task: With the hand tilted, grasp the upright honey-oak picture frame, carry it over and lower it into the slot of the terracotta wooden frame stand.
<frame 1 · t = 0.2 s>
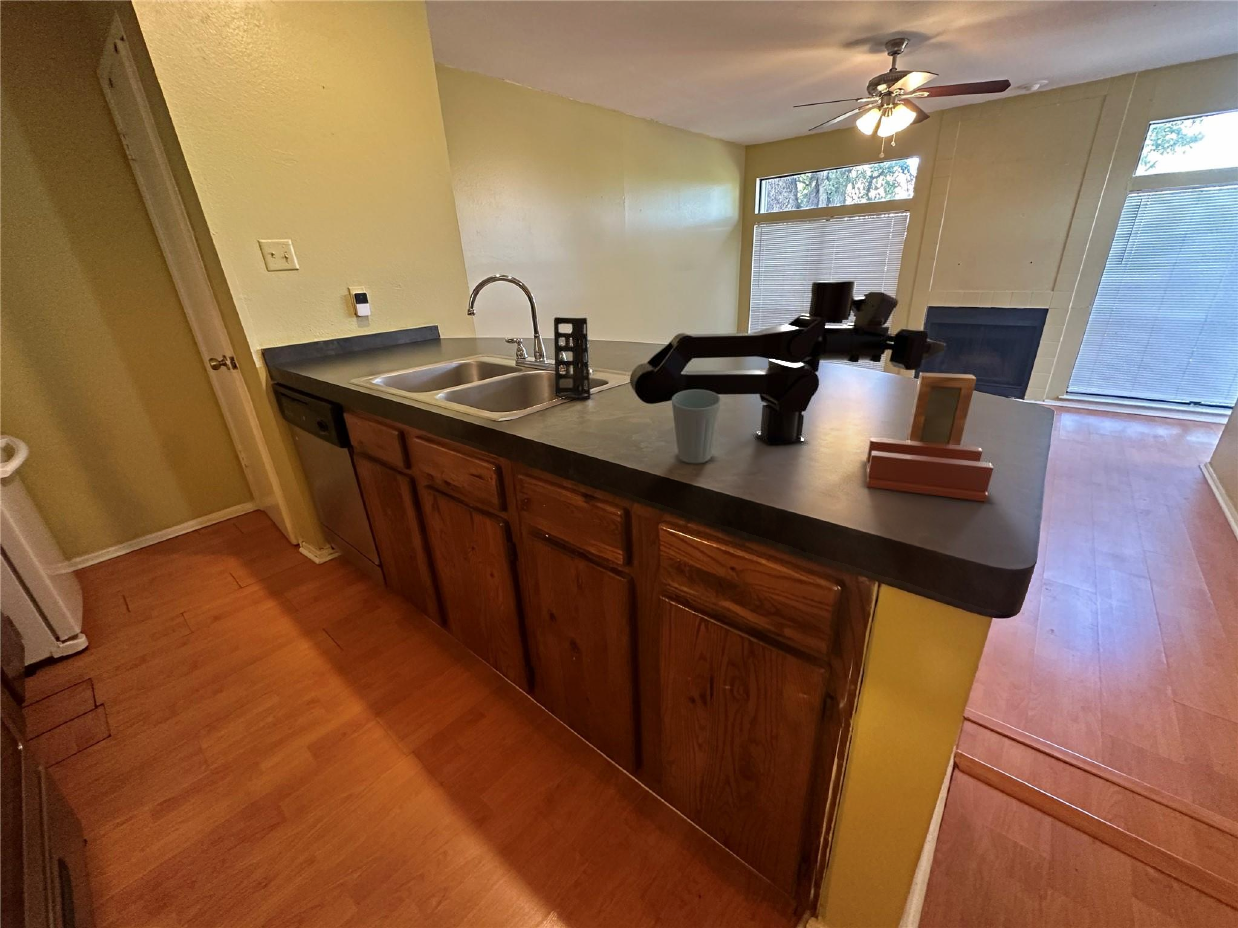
hand: (924, 343, 85), 16 cm above the counter, tool horizontal, fingers open, 9 cm apart
slot stand: (920, 480, 69), on the counter
cup: (694, 456, 81), on the counter, touching arm
frame: (929, 453, 79), on the counter
holder: (575, 396, 125), on the counter
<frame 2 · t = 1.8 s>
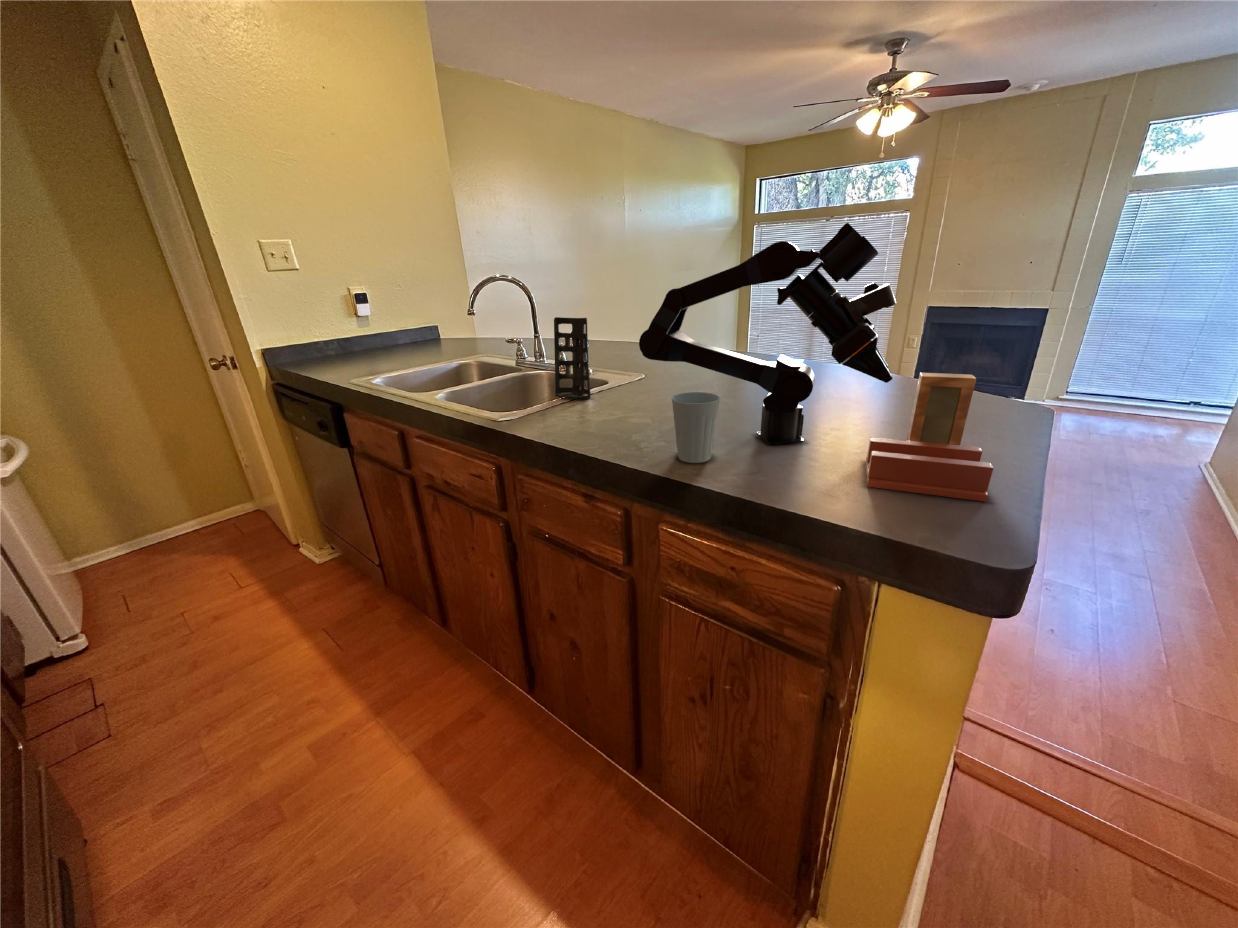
hand: (887, 375, 77), 13 cm above the counter, tool tilted 45°, fingers open, 9 cm apart
cup: (694, 458, 81), on the counter
everything else where it was.
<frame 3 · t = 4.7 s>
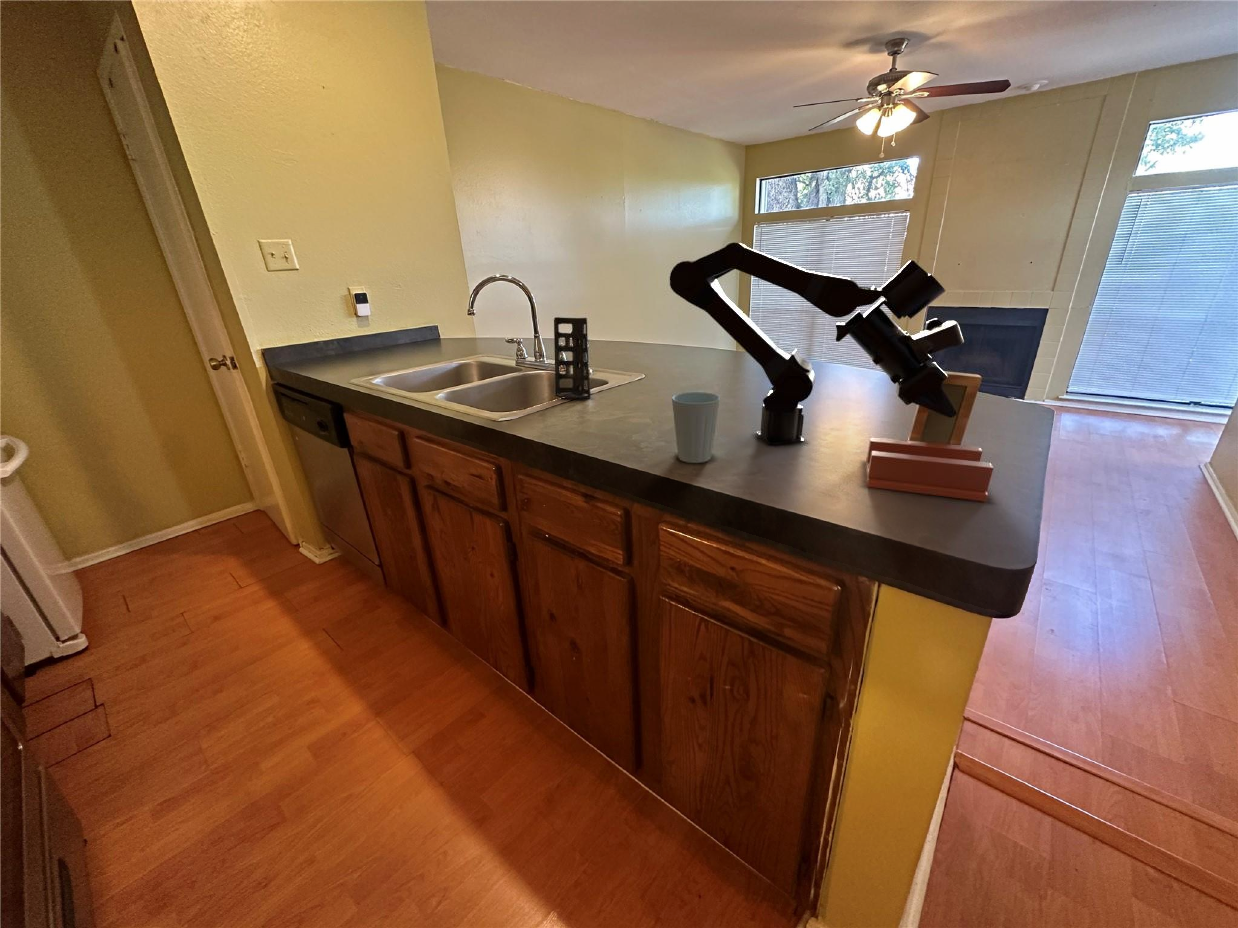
hand: (951, 412, 75), 7 cm above the counter, tool tilted 45°, fingers closed on frame, 4 cm apart
frame: (930, 451, 79), on the counter, touching gripper
everything else where it was.
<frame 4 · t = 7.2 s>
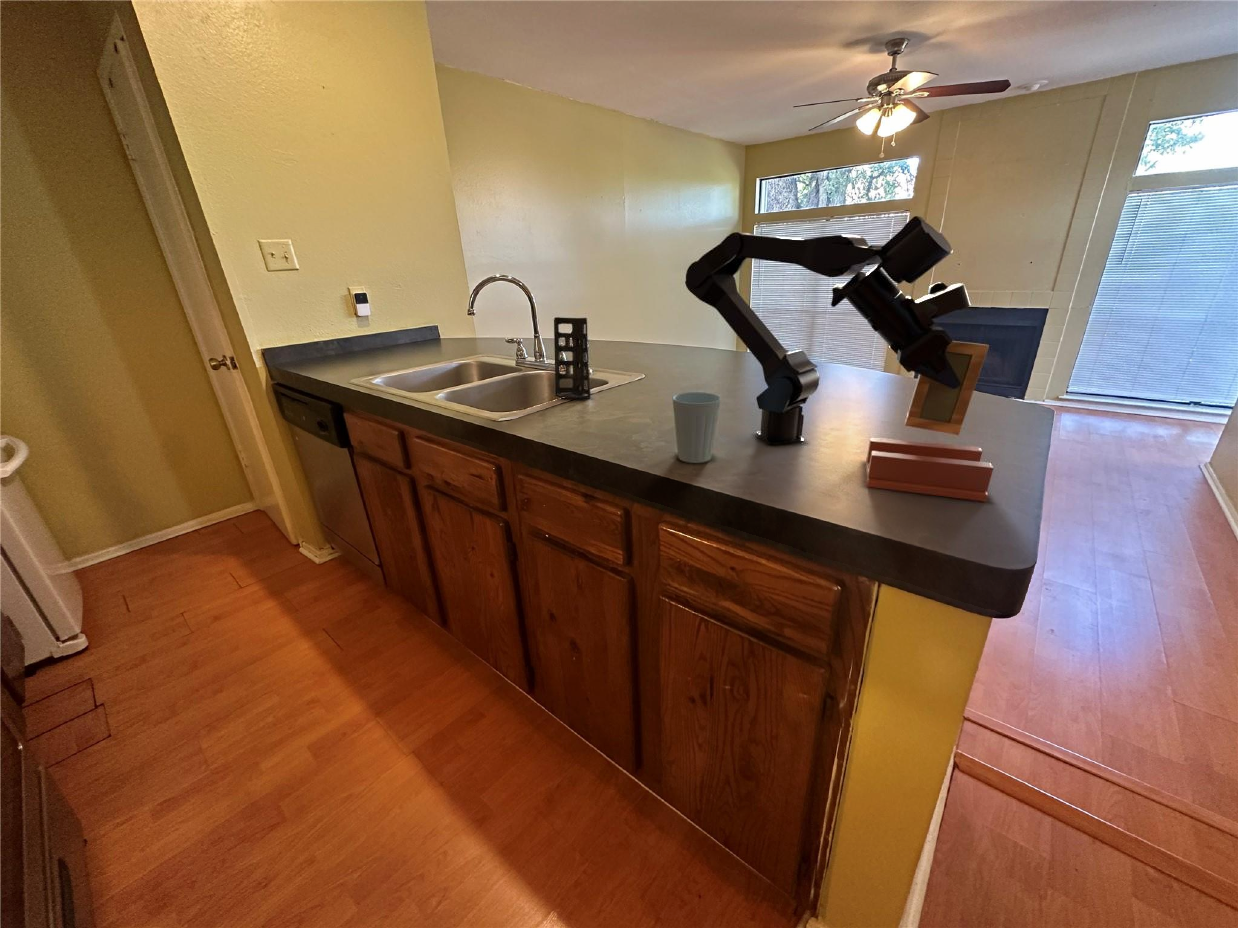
hand: (955, 384, 70), 13 cm above the counter, tool tilted 45°, fingers closed on frame, 3 cm apart
frame: (930, 428, 73), point 6 cm above the counter, tilted 8°, touching gripper
everything else where it was.
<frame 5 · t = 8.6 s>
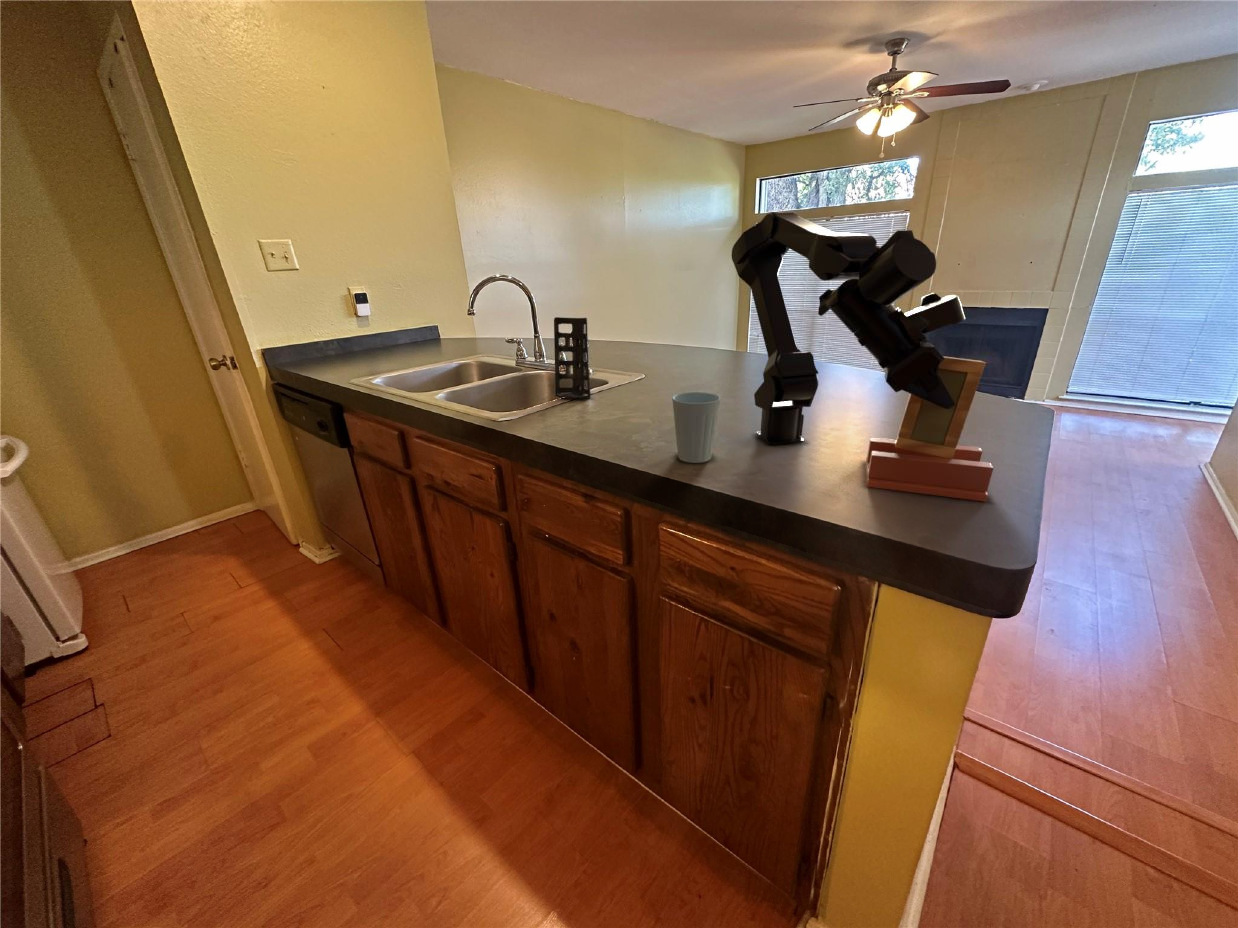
hand: (948, 403, 65), 11 cm above the counter, tool tilted 45°, fingers closed on frame, 3 cm apart
frame: (922, 450, 68), point 5 cm above the counter, tilted 8°, touching gripper
everything else where it was.
when the fingers open (8 cm above the counter, at t = 9.7 s): frame stays where it is, resting on slot stand.
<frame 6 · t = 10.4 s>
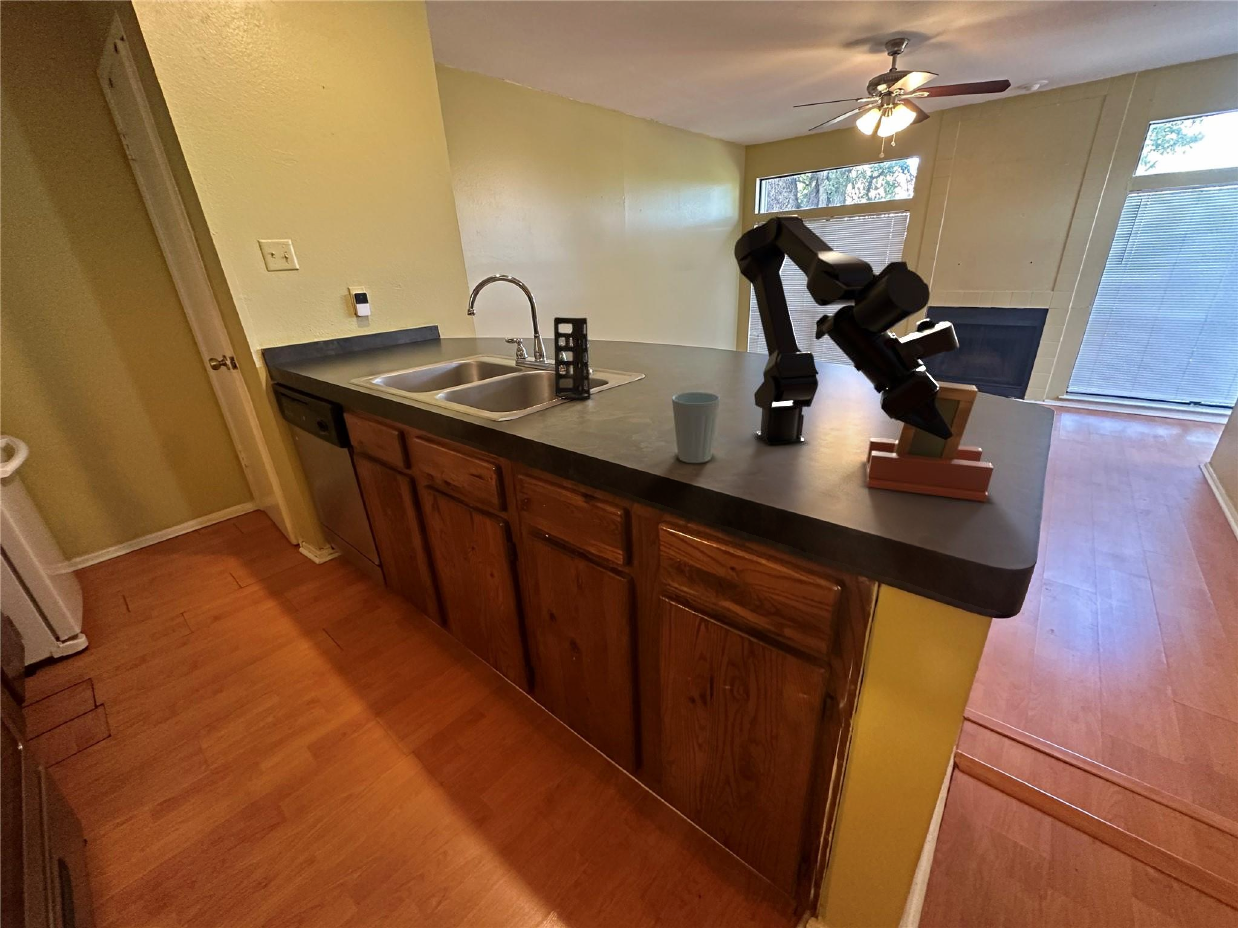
hand: (943, 427, 66), 8 cm above the counter, tool tilted 45°, fingers open, 9 cm apart
frame: (917, 472, 69), point 1 cm above the counter, touching gripper, slot stand
everything else where it was.
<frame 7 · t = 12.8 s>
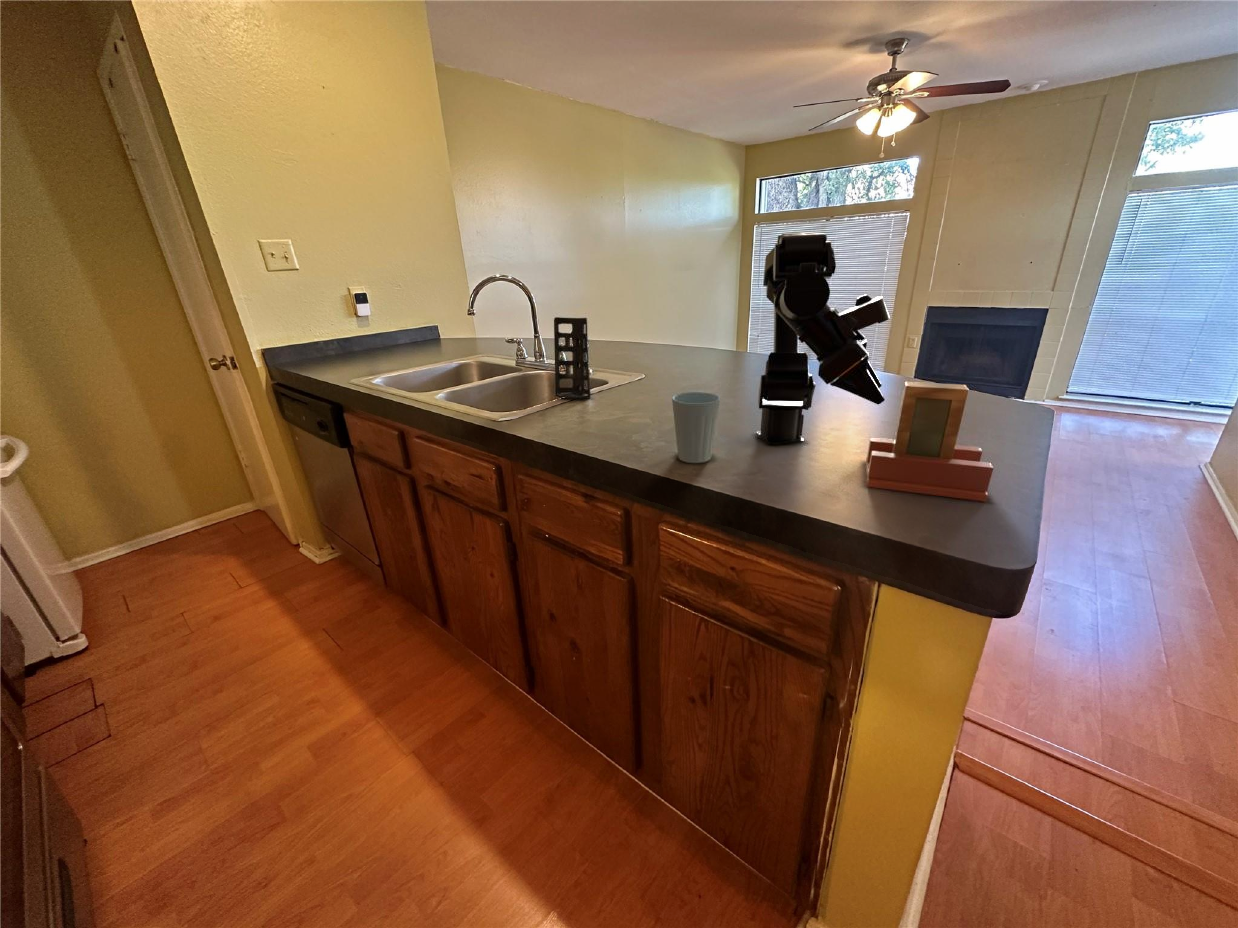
hand: (880, 394, 71), 11 cm above the counter, tool tilted 45°, fingers open, 9 cm apart
frame: (916, 474, 69), point 1 cm above the counter, touching slot stand
everything else where it was.
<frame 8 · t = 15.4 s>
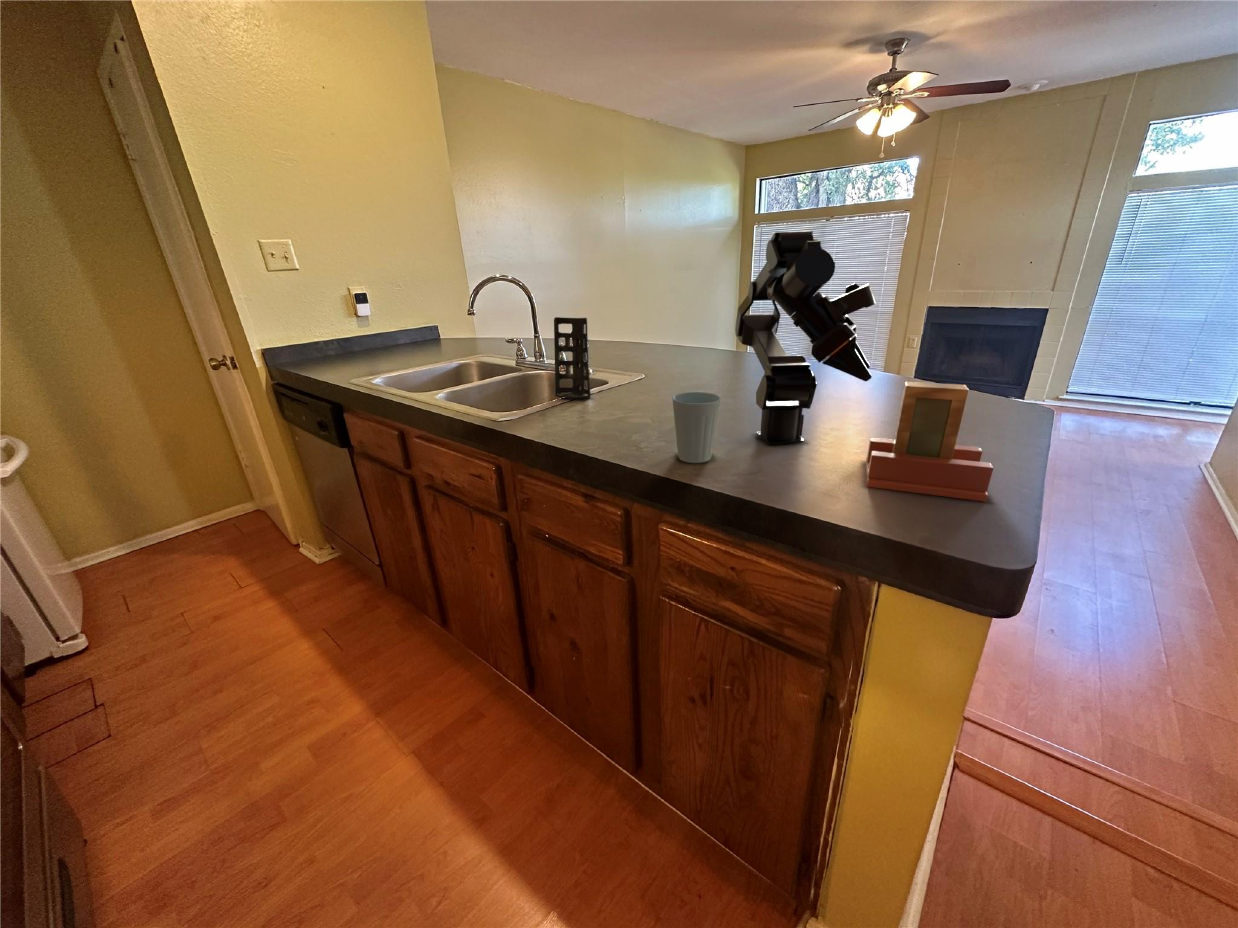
hand: (868, 374, 79), 13 cm above the counter, tool tilted 45°, fingers open, 9 cm apart
nothing on the counter moved.
at the end: frame 0.8 cm off-centre on the slot stand, point 1.0 cm above the slot stand's base; frame tilted 0°; the gripper is holding nothing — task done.
